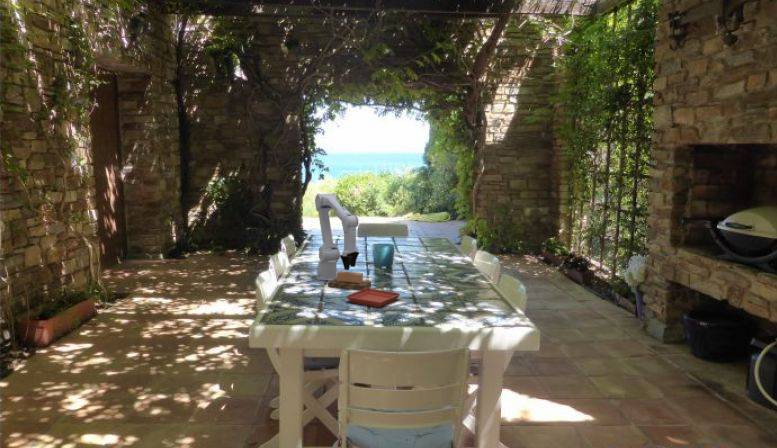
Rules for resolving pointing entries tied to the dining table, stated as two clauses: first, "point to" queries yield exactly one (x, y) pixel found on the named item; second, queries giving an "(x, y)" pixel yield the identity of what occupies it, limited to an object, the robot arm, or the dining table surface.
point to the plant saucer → (373, 297)
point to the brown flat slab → (349, 285)
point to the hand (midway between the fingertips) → (349, 268)
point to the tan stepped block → (350, 277)
